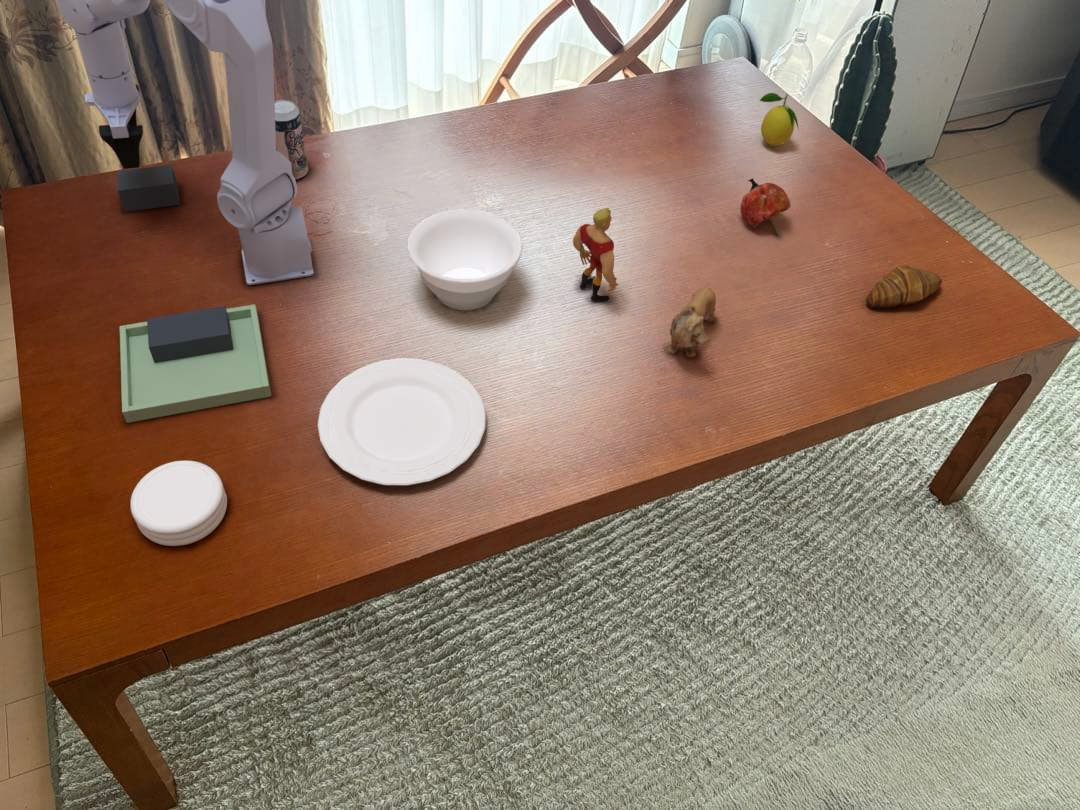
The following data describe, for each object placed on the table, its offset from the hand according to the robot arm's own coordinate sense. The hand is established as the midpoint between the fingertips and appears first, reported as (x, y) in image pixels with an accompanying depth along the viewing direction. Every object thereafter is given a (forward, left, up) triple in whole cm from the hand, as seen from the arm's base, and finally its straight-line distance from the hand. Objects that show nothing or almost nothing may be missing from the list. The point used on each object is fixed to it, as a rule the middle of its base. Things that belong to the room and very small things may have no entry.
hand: (130, 150), depth 136 cm
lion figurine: (-71, +49, -10) cm, 87 cm away
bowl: (-43, +31, -9) cm, 54 cm away
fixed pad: (-5, +33, -9) cm, 35 cm away
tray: (-5, +37, -9) cm, 39 cm away
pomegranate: (-93, +27, -9) cm, 97 cm away
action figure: (-61, +36, -10) cm, 71 cm away
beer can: (-23, -3, -10) cm, 25 cm away
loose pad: (-1, -1, -9) cm, 9 cm away
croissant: (-106, +48, -10) cm, 117 cm away
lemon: (-105, +7, -10) cm, 105 cm away
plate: (-29, +54, -9) cm, 62 cm away
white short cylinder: (-2, +60, -10) cm, 61 cm away
